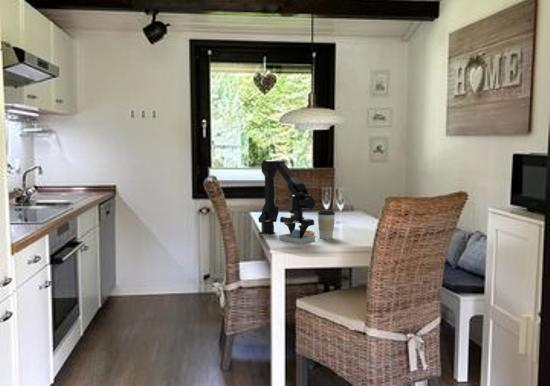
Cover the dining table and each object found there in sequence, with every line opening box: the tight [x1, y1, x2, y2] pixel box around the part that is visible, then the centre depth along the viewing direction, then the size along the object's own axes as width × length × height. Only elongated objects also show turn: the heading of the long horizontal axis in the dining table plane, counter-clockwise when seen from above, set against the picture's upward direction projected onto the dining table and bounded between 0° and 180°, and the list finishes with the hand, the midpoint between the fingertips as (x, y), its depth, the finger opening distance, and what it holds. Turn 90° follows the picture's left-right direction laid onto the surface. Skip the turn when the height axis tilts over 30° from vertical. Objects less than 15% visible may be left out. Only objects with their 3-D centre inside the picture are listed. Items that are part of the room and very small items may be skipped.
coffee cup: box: [317, 208, 336, 240], centre depth 276 cm, size 9×9×15 cm
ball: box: [291, 228, 300, 239], centre depth 269 cm, size 6×6×6 cm
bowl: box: [304, 230, 315, 236], centre depth 282 cm, size 10×10×2 cm
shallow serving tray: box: [278, 232, 316, 245], centre depth 269 cm, size 15×10×2 cm
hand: (296, 237), depth 269 cm, fingers closed on ball, 6 cm apart
